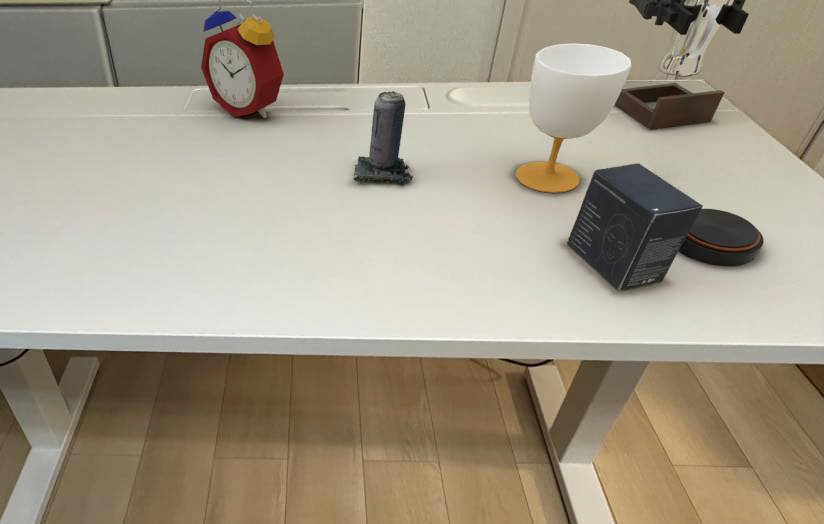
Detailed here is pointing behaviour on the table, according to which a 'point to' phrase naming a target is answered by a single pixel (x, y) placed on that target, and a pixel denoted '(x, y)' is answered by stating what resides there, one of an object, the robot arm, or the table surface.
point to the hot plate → (722, 239)
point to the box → (632, 225)
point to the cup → (570, 103)
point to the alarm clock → (241, 64)
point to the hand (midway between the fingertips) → (714, 24)
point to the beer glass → (694, 37)
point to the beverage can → (385, 142)
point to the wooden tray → (669, 105)
